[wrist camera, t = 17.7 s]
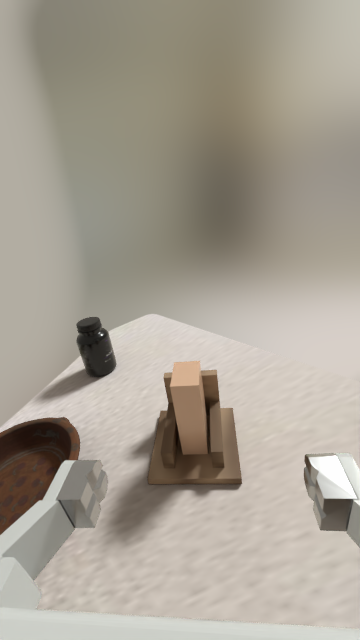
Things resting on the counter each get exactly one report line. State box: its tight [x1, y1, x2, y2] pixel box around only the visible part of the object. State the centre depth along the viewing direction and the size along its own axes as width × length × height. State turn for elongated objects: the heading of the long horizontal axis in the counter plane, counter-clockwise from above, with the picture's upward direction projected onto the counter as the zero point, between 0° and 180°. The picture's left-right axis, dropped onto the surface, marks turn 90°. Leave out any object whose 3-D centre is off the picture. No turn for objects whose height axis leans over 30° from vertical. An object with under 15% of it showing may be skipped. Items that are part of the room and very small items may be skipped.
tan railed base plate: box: [147, 370, 242, 484], centre depth 38 cm, size 12×12×9 cm
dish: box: [0, 417, 80, 535], centre depth 36 cm, size 18×22×5 cm
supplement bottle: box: [77, 317, 116, 377], centre depth 59 cm, size 7×7×12 cm
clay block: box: [170, 361, 208, 455], centre depth 37 cm, size 4×5×12 cm
